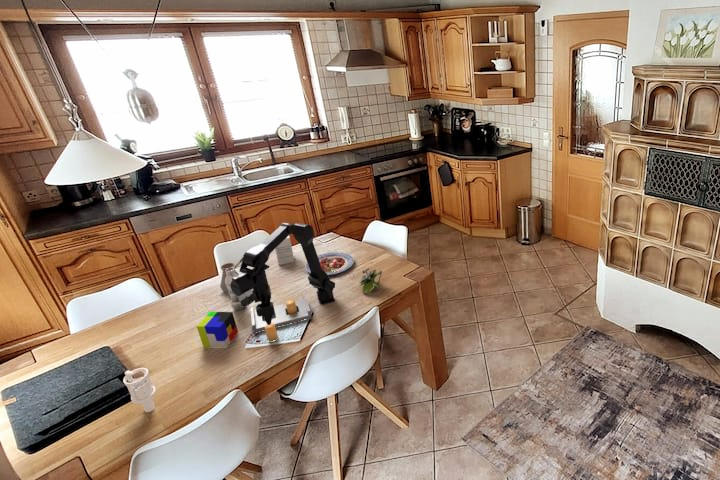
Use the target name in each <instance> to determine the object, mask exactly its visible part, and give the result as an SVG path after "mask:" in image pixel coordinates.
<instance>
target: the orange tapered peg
mask: <svg viewBox="0 0 720 480" xmlns="http://www.w3.org/2000/svg"><path fill="white" fill-rule="evenodd" d="M295 301H296V300H295V299H290V300H287V301H286V302H285V303H286V307H287V312H286V313H287V315H290V314H294V313H298V310H297V308H296V303H295Z"/></svg>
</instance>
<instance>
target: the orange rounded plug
mask: <svg viewBox="0 0 720 480" xmlns="http://www.w3.org/2000/svg"><path fill="white" fill-rule="evenodd" d="M264 332H265V333H266V334H265V335H266V338H267V341H268V340H269V341H273V340H276V339H277V338H278V339H279V336H278V332H277V328H276V327H275V324H270V325H266V326H265V331H264Z"/></svg>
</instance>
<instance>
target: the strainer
mask: <svg viewBox="0 0 720 480" xmlns="http://www.w3.org/2000/svg"><path fill="white" fill-rule="evenodd" d="M140 372H143V375H144V376H142V377H138V378H134V377H133V375H135V374H138V373H140ZM124 375H125V376H124V377H123V380H122V382H123V383H124V385H125V386H126V387H127V389H128V393H129V394H130V400H131V402H132V404H134V405H141V406H142V408H143V411H144V412H145V413H151V412H152V411H154V410H155V407H156V406H155V403H154V401H153V398H154V397H155V395H156V393H157V389H156V387H155V386H154V385H153V384H152V383H153V382H152V380H151V378H150V372H149V369H148V368H147V367H139V368H134V369H133V370H126V371H125V372H124Z"/></svg>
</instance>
